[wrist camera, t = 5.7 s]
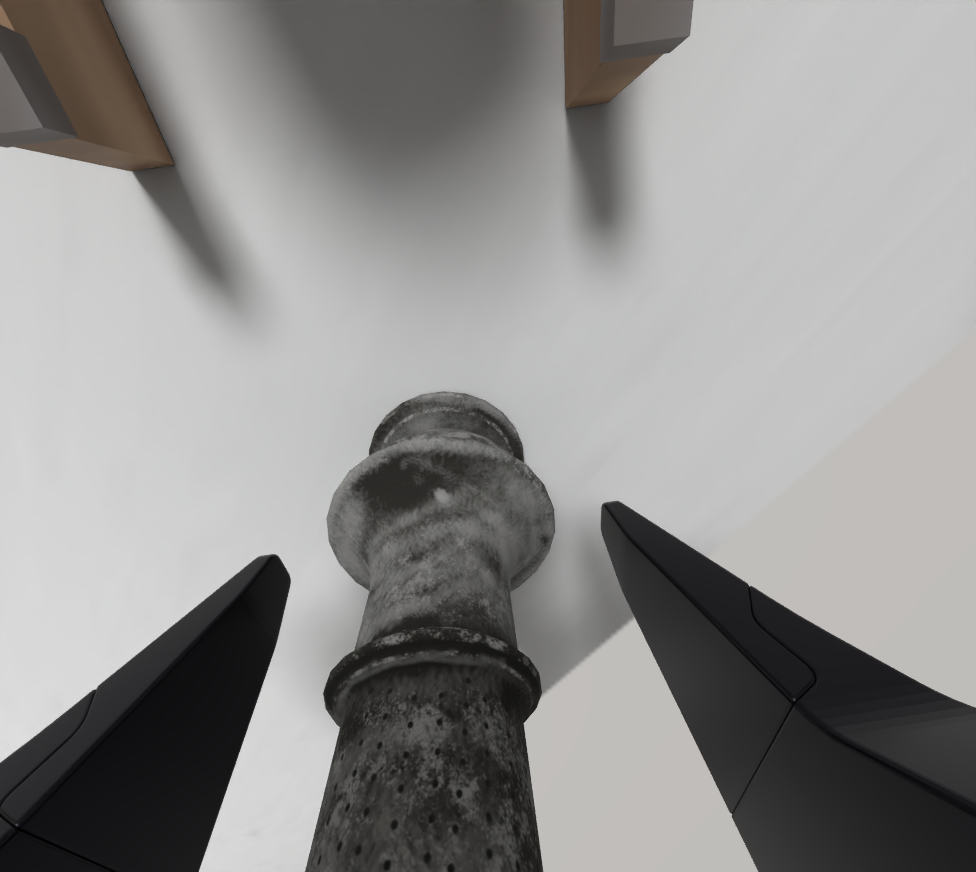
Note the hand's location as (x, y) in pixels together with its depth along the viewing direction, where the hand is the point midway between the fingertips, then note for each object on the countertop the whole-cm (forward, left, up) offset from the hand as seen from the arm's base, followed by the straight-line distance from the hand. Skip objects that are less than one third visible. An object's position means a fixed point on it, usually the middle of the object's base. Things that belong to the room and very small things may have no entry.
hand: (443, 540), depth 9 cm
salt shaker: (0, 0, -4) cm, 4 cm away
